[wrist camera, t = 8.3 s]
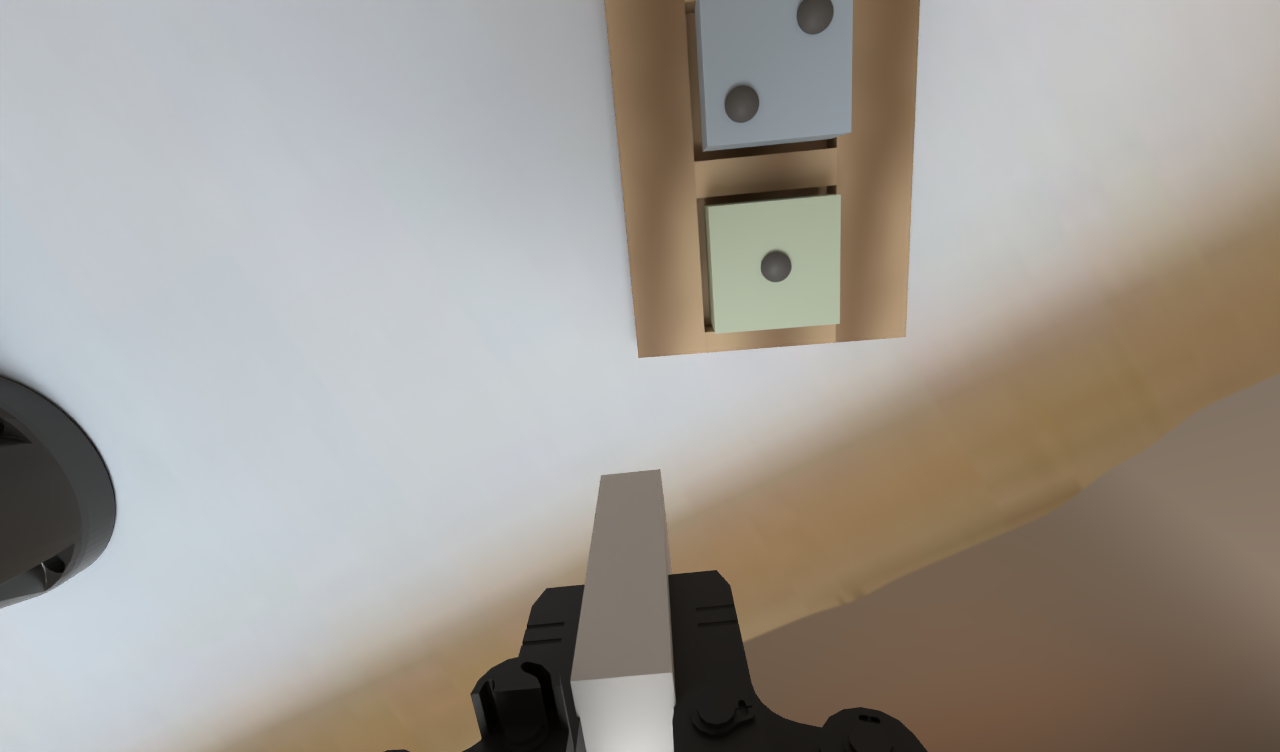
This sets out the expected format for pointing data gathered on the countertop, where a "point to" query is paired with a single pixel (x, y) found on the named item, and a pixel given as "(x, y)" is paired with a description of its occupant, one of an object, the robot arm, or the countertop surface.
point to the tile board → (759, 177)
